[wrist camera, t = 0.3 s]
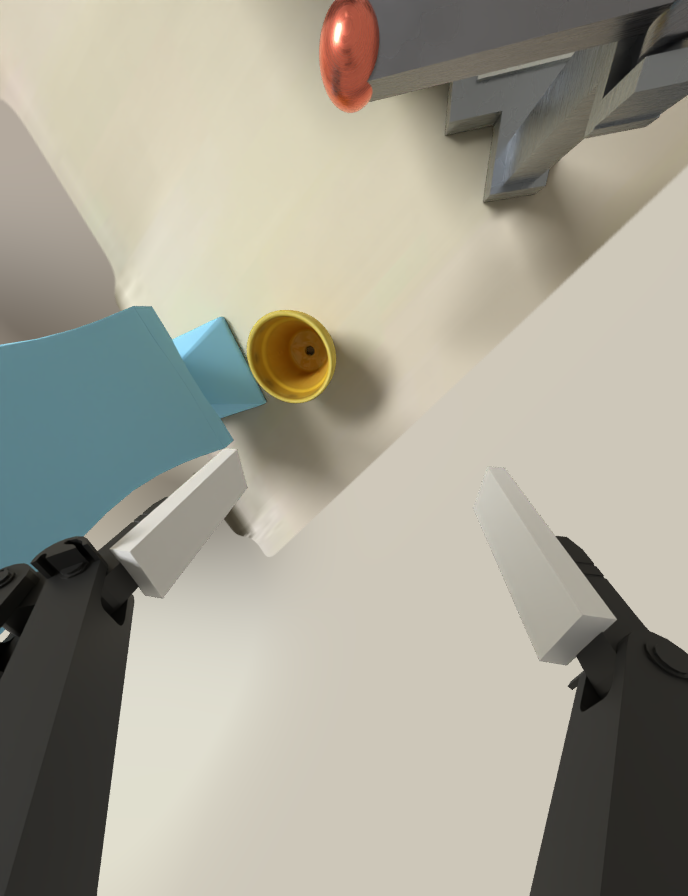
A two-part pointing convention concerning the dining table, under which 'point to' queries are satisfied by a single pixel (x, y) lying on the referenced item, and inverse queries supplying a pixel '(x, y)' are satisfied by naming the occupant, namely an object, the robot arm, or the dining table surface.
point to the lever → (474, 39)
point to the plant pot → (291, 356)
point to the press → (562, 107)
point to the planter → (107, 419)
